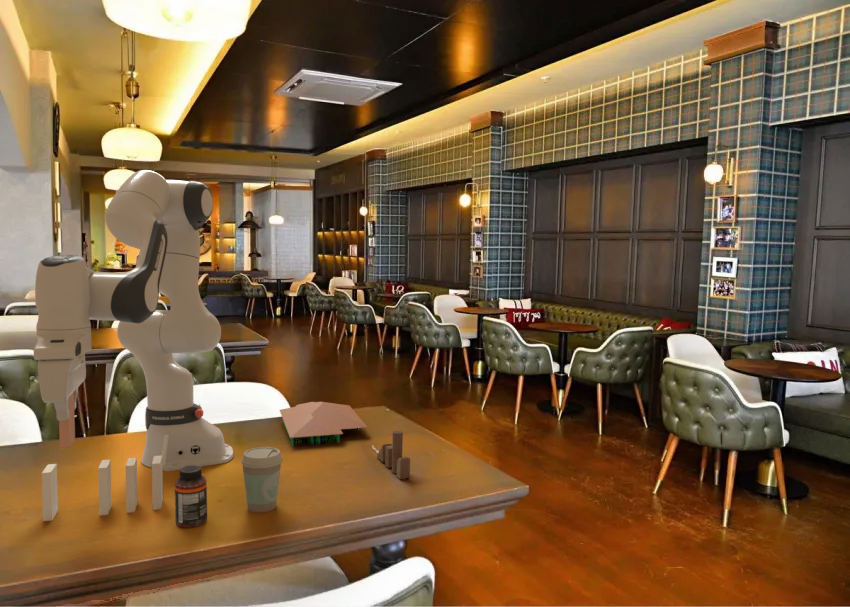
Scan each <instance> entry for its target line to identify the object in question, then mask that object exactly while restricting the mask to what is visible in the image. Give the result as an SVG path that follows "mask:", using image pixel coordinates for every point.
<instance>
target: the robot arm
mask: <svg viewBox="0 0 850 607" xmlns="http://www.w3.org/2000/svg"><path fill="white" fill-rule="evenodd" d="M213 201H214V200H213V195H212V192H211V189H209V187H208V186H207V185H206V184H205V183H202V182H200V181H195V180H190V181H186V180H179V179H178V180H177V179H166V178H165V177H164V176H163V175H161V174H160V173H158V172H155V171H153V170H149V169H142V170H138V171H135V172H134V173H132V174H131V175H130V176H128V178H127V179H126V180H125V181H124V182H123V183H122V184H121V185H120V187H119V188H118V190H117V191H116V192H115V194H114V196H113V197H112V199H111V201H109V204H108V205H107V208H106V211H105V216H104V218H105V224H106V227H107V229H108V230H109V232H110V234H111V235H112V236H113V237H114V238H115V239H116V240H118V241H119V242H121V243H122V244H124V245H126V246H128V247H131V248H135V249H138V250H139V253H138V257H137V261H136V265H135V268H133V269H131V270H129V271H128V270H127V271H124V272H106V271H105V272H103V271H102V272H101V271H95V270H94V269H92V268H89V267H88V266H87V262H86V260H85V258H84V257H83V256H79V255H76V254H75V255H74V254H62V255H54V256H49V257H45V258H43V259H42V260H40V261H39V263H38V265H37V268H36V276H35V286H34V287H35V289H34V290H35V293H34V294H35V295H34V297H35V298H34V299H35V302H34V304H35V308H36V310H37V314H38V316H37V317H38V318H37V321H36V325H35V326H36V329H35V330H36V343H35V346H34V349H33V360H35V361H38V362H37V376H38V383H39V390H40V396H41V399H42V402H43V403H45V404H53V406H54V410H55V411H56V413H55V414H56V420H57V421H58V422H59V421H61V420H67V419H68V417H69V409H68V398H69V397H70V396H71V394H72V393H73V392H74V411H75V410H76V408H77V398H78V391H79V387H80V385H82V384H83V382H84V381H85V380H86V378H87V377H86V376H87V366H86V364H87V363H86V353H88V352H91V351H92V323H91V320H94V321H108V322H109V321H115V322H117V321H118V324H117V330H116V331H117V333H116V334H117V339H118V341H119V343H120V344H121V346H122V347H123V348H125V349H126V350H127V351H129V352H130V353H131V354H132V355H133V356H134V358H135V359H136V360H137V362H138V363H139V365H140V367H141V368H142V369H141V370H142V371H143V374H144V378H145V383H146V384H145V385H146V400H147V404H146V405H147V406H146V408H145V411H144V412H145V414H144V415H145V416H144V420H145V422H144V423H145V430H146V438H145V446H144V450H143V454H142V457H141V461H140V462H141V464H142V465H143V466H146V467H148V468H152V462H153V458H154V456H161V455H162V471H165V472H173V471H180V469H181V468H182V467H185V466H190V465H197V466H200V467H201V468H202V467H206V466H214V465H220V464H226V463H228V462H230V461H231V460H232V459H233V458H234V449H233V447H232V446H231V445H229V444H227V443H225V438H224V434H223V432H222V431H221V429H220V428H219V427H217V426H216V425H214V424H213V423H211V422H209V421H208V420H206V419H205V418H203V416H204V410H203V408H202V406H201V404H196V403H194V378H193V375H192V373H191V372H190V370H188V369H187V368H186V367H183V366H182V365H180V364H179V363H178V362H177V361H176V359H175V358H174V355H173V354H187V355H188V354H189V355H190V354H191V355H194V354H202V353H206V352H211V351H213V350H214V349H215V348H216V347H217V346H218V344H219V342H220V341H221V338H222V327H221V324H220V322H219V320H218V319H217V317H216V316H215V315H214V314H213V313H212V312H210V311H209V310H208V308H207V307H206V306H205V304H204V302H203V300H202V298H201V295H200V290H199V274H200V273H199V271H200V258H201V240H200V239H201V238H200V229H201V228H202V227H203V225H204V224H206V223H207V221H208V220H209V219H210V217H211V216H212V213H213V208H214V202H213ZM160 294H161V295H162V296H164V297H166V298H168V300H169V304H170V307H169V308H170V309H168V310H167V309H157V308H158V304H159V295H160Z"/></svg>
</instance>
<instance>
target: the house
mask: <svg viewBox="0 0 850 607" xmlns="http://www.w3.org/2000/svg"><path fill="white" fill-rule="evenodd" d="M279 412H280V415H281V418H282V419H281V420H282V423H283V425H284V428H285V430H286V433H287V435H288V438H289V441H290V443H291V446H292V447H294V443H297V442H298V443H300V442H301V440H300V438H309V442H310V443H311V446H314V441H315V440H316V442H317V444H318V445H321V440H322V441H324V440H325V441H327V438H324V436H325V437H326V436H330V441H331V442H330V443H331V445H332V442H333V441H332V440H333V439H336V440H337V442H338V444H339V443H341V442H340V440H341V437H340V436H341V435H343V434H344V432H343V431H342V430H348V431H349V432H350V430H355V429H356V430H357V428H358V430H359V431H360V432H361V429H366V428H368V426H367V425H366V424H365V423H364V421H363V420H362V418H361V417H360V416H359V415H358V414H357V413H356V412H355V410H354V409H353V408H352V407H351V405H349V404H339V403H333V402H325V401H310V402H305V403H300V404H296V405H295V406H292V407H287V408H281V409H279ZM358 430H357V431H358ZM359 431H358V432H359ZM321 437H322V439H321ZM314 438H315V439H314ZM294 439H298V441H297V440H296V441H295V440H294ZM330 443H329V442H328V445H329V444H330Z"/></svg>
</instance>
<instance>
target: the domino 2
mask: <svg viewBox="0 0 850 607" xmlns="http://www.w3.org/2000/svg"><path fill="white" fill-rule="evenodd" d="M97 470H98V472H97V473H98V477H97V479H98V482H97V483H98V512H99V514H98V516H107V515H109V514H110V510H111V508H112V506H113V504H112V500H113V499H112V461H111V459H102V460H101V462H100V464H99V466H98V469H97Z"/></svg>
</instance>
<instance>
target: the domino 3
mask: <svg viewBox="0 0 850 607" xmlns="http://www.w3.org/2000/svg"><path fill="white" fill-rule="evenodd" d="M125 502H126V504H125V505H126V506H125V507H126V508H125V509H126V510H125V512H126V513H127V514H129V513H135V512H136V509H137V505H138V457H128V459H127V461H126V464H125Z"/></svg>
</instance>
